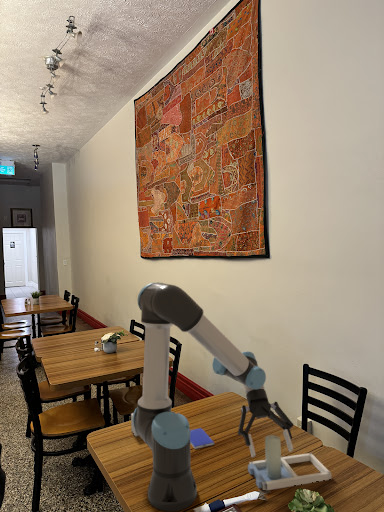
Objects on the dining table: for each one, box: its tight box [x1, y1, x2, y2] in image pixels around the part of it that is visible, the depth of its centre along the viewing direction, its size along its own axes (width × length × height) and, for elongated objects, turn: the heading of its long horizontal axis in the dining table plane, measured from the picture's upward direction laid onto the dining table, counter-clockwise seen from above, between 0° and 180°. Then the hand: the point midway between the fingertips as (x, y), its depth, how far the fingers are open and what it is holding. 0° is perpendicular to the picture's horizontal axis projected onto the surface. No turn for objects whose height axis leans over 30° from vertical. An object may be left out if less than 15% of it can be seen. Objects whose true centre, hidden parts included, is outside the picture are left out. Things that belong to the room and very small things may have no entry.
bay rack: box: [247, 452, 332, 491], centre depth 122 cm, size 25×12×2 cm, turn 102°
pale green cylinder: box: [264, 434, 282, 479], centre depth 120 cm, size 5×5×12 cm
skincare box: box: [130, 412, 140, 437], centre depth 152 cm, size 6×6×7 cm
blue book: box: [190, 427, 215, 450], centre depth 145 cm, size 2×8×12 cm
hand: (272, 453), depth 122 cm, fingers open, 13 cm apart
